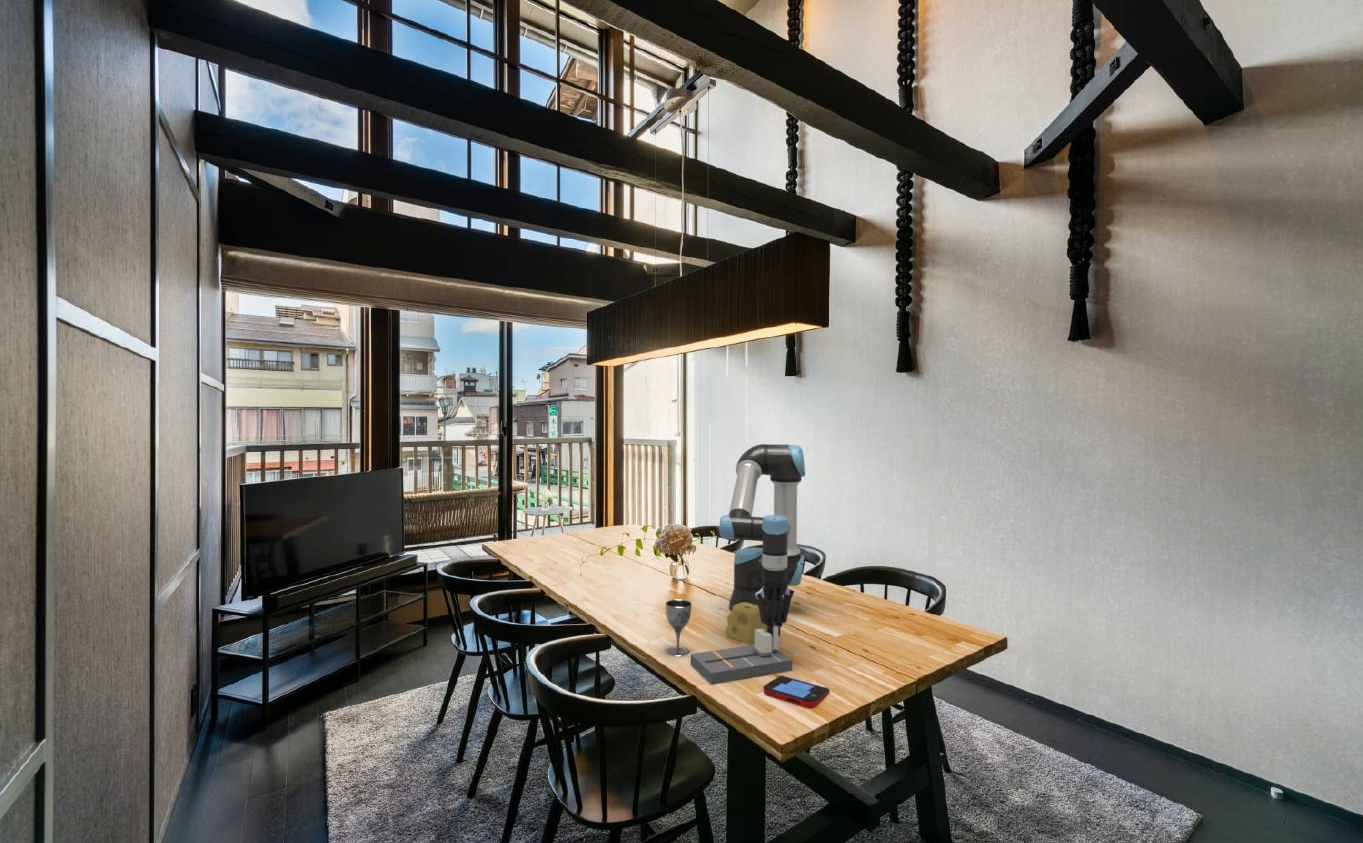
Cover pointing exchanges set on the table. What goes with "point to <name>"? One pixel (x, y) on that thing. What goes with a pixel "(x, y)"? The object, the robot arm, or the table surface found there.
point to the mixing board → (738, 664)
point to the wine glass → (678, 621)
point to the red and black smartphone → (795, 691)
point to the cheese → (744, 622)
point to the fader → (763, 643)
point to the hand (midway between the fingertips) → (773, 647)
